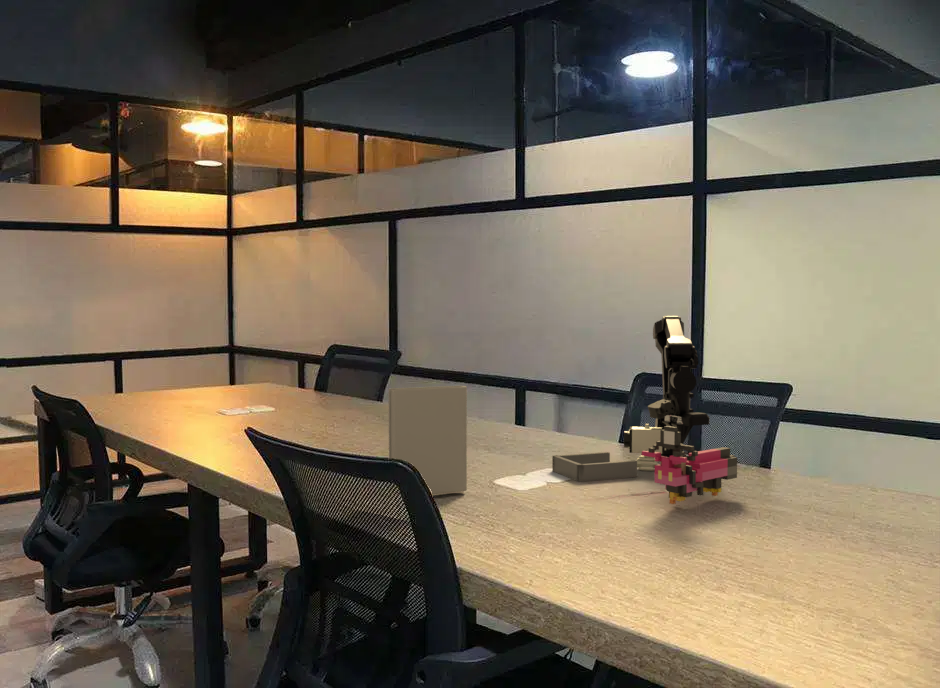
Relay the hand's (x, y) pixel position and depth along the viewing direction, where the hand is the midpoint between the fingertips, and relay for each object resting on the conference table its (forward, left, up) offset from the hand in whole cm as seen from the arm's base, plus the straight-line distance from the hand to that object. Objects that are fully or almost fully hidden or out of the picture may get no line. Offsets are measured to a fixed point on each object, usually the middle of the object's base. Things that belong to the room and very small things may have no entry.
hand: (678, 448), depth 222 cm
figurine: (+17, +32, -5) cm, 37 cm away
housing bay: (+25, 0, -5) cm, 25 cm away
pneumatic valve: (+9, 0, -5) cm, 11 cm away
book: (+71, +6, -5) cm, 72 cm away
